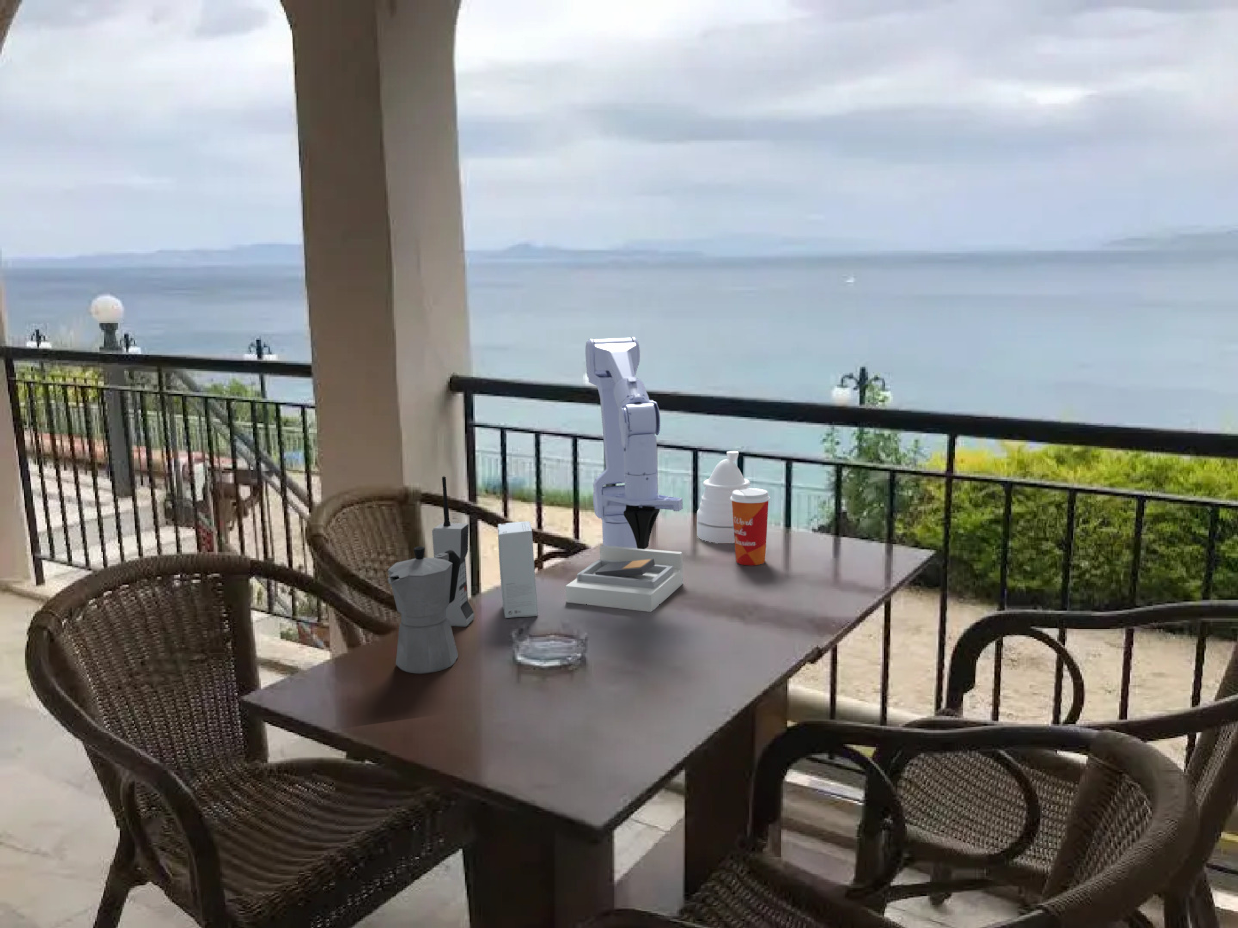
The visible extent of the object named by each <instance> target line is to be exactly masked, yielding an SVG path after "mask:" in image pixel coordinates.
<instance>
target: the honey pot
mask: <svg viewBox="0 0 1238 928" xmlns="http://www.w3.org/2000/svg"><path fill="white" fill-rule="evenodd" d="M739 453H740V452H739V451H737V450H729V451H726V458H725V459H722V460H720V461H719V462H718V463H717V464H716V466H715V467H714V469H713V471H711V475H710V476H709V478H707V479H705V480H704V481H703V482H702V485H703V487H704V488H705V489H704V491H703V494H702V495H701V497H700V498H701V501H700V503H699V508H698V510H697V511H696V537H697V536H698V537H699V538H700V539H702V540H701V541H703V540H705V541H704V542H706V541H709V542H708V543H711V542H715V543H714V544H718V543H735V540H734V525H733V510H732V500H731V499H730V497H731V496H732V492H733V491H734V490H739V489H746V488H749V486H751V481H750V480H749V479H748V478H747V479H746V478H745V477H744V476H743V473H742V472H741V470H740V468H739V467H738V466H737V465H736V463H735V461H736V460H737V459H738V458H739ZM698 537H697V538H698ZM699 538H698V539H699ZM700 539H699V540H700Z"/></svg>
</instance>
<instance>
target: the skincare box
mask: <svg viewBox="0 0 1238 928" xmlns="http://www.w3.org/2000/svg"><path fill="white" fill-rule="evenodd" d="M532 529H533V528H532V524H531V521H530V520H528V521H527V520H526V521H515V522H505V523H498V524H497V534H498V535H497V537H498V541H497V542H498V543H497V544H498V559H499V560H498V562H499V563H498V565H499V576H500V589H501V600H502V608H503V613H504V618H507V619H508V618H509V619H510V618H518V617H519V618H521V617H522V618H523V617H538V616H539V608H538V597H537V585H536V583H537V582H536V570H535V559H534V557H535V556H534V555H535V554H534V541H533V530H532Z"/></svg>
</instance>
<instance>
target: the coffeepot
mask: <svg viewBox="0 0 1238 928" xmlns="http://www.w3.org/2000/svg"><path fill="white" fill-rule="evenodd" d="M425 549H426V547H425V546H420V545H419V546H416V547H414V548H413V552H414V557H415V558H412V559H407V560H403V561H402V560H401V561H398V562H395V563H394V564H393V565H391V566H390V567H389V568H388V569H387V574H388V578H387V583H388V584H389V585H390V586H391V589H392V594H393V598H394V602H395V607H396V611H397V612H398V613H400V624H399V628H398V635H397V636H398V638H397V648H396V649H397V650H396V656H395V657H396V658H395V665H396V666H397V667H398V669H400V670H401V671H403V672H406V673H410V674H430V673H436V672H439V671H443V670H446V669H448V668H450V667H452V666H453V665H454V664H455V663H456V661H457V659H458V657H459V653H458V649H457V646H456V642H455V638H454V634H453V629H452V626H451V625H450V621H449V619H448V618H447V616H446V608H447V607H448V605H449V604H450V603H451V602H453V601H454V599H455V594H456V588H457V581H458V574H459V568H460V558H459V556H458V555H457V554H456V553H455V552H454V551H453V550H448V551H446V552H445V553H440V554H437V555H435V558H434V557H425Z"/></svg>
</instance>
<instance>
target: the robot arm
mask: <svg viewBox="0 0 1238 928" xmlns="http://www.w3.org/2000/svg"><path fill="white" fill-rule="evenodd" d="M640 361H641V349H640V344H639V341H638V339H637V338H636V337H635V336H630V337H619V338H618V337H613V338H611V337H610V338H594V339H593V338H589V339H588V340H587V341H586V343H585V364H586V366H585V367H586V377H587V378H588V383H590V384H591V385H594V386H596V388H597V390H598V395H599V399H600V411H601V412H600V413H601V423H602V424H601V425H602V434H603V435H602V436H603V447H604V448H603V449H604V458H605V460H604V461H605V469H604V470H603V471H602V472H601V473H600V474H598V476H596V478H595V479H594V481H593V483H592V485H593V494H592V502H593V504H592V505H593V509H594V510H593V511H594V514H595V516H596V517H597V518H598V519H601V524H602V525H601V528H602V532H601V533H602V545H607V546H618V547H630V548H637V549H648V548H649V547H650V546H649V545H650V538H651V534H652V530H653V527H654V525H655V522H656V519H657V517H658V515H659V513H660V511H661V510H670V511H671V510H672V511H673V512H680V511H682V510H683V509H684V508H683V505H684V504H683V502H684V501H683V497H676V496H675V497H674V496H671V495H670V496H669V495H662V494H659V493H658V486H659V485H658V454H657V453H658V449H657V448H658V447H657V444H658V443H657V436H658V435H660V431H661V415H660V413H661V412H660V408H659V406H658V402H657V401H654V400H653V399H650V396H649V394H648V392H647V390H646V387H645V383H644V382H643V381H642V380H641V379H639V378H637V377H636V374H637V371H638V369H639V365H640ZM617 484H618V485H617ZM619 484H620V485H619ZM622 484H623V485H622ZM606 485H607V486H606Z"/></svg>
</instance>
